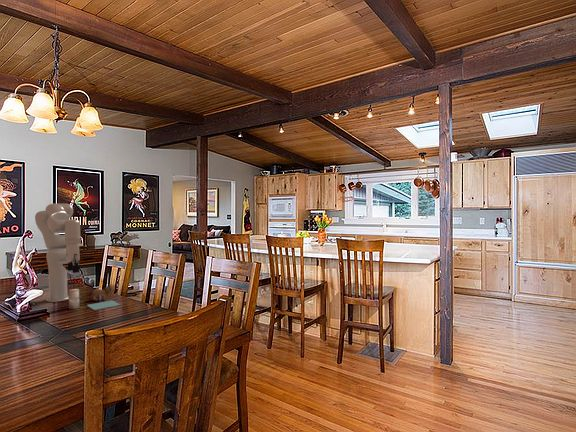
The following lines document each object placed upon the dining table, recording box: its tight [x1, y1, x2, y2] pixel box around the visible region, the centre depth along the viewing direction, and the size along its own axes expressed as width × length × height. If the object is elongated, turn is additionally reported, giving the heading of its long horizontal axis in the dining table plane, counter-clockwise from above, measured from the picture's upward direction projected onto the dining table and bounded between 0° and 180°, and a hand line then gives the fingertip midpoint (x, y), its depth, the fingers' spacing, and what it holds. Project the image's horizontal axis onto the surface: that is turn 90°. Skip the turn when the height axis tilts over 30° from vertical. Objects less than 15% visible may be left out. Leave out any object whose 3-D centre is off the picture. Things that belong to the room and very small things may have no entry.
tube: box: [68, 288, 80, 310], centre depth 199 cm, size 5×5×10 cm
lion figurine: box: [88, 284, 116, 302], centre depth 215 cm, size 15×5×9 cm, turn 103°
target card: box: [86, 300, 121, 311], centre depth 203 cm, size 14×14×1 cm
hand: (73, 271), depth 198 cm, fingers open, 9 cm apart
